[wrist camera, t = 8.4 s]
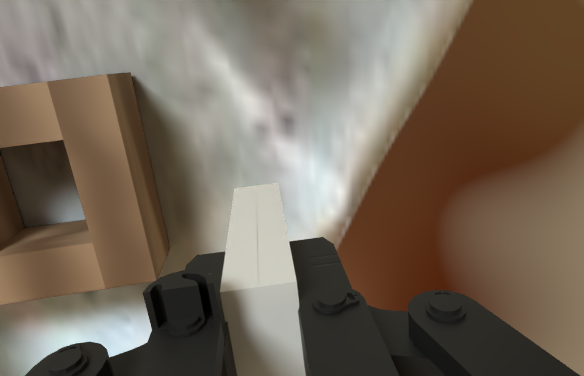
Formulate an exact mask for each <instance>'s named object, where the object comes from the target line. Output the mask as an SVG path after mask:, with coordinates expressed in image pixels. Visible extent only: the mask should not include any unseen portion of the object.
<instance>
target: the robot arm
mask: <svg viewBox="0 0 584 376" xmlns="http://www.w3.org/2000/svg"><path fill="white" fill-rule="evenodd" d="M143 295H144V299H145V303H146V307H147V311H148V315H149V319H150V323H151V327H152V332H151V334H150V337H149V340H148V342H147V343H146V344H144V345H142V346H140V347H137V348H135V349H132V350H130V351H127V352H124V353H121V354H118V355H115V356H113V357H110V358H109V355H108V352H107V349H106V348H105V347H104V346H103V345H101V344H99V343H94V342H84V343H76V344H73V345H70V346H66V347H63V348H61V349H59V350H58V351H56V352H54V353H52V354H50V355H48V356H47V357H45V358H44V359H43V360H42V361H40V362H39V363H38V364H37V365H35V366H34V367H33V368H32V369H31V370H30V371H29V372H28V373H27V374H26V375H25V376H580V375H579V374H577V373H576V372H574V371H573V370H572V369H570V368H569V367H567V366H566V365H565V364H563V363H562V362H560V361H559V360H557V359H556V358H555V357H553V356H552V355H550V354H549V353H548V352H546V351H545V350H543V349H542V348H541V347H539V346H538V345H536V344H535V343H534V342H532V341H531V340H529V339H528V338H526V337H525V336H524V335H522V334H521V333H520V332H518V331H517V330H515V329H514V328H513V327H511V326H510V325H508V324H507V323H506V322H504V321H503V320H501V319H500V318H499V317H497V316H496V315H494V314H493V313H492V312H490V311H488V310H487V309H486V308H484V307H483V306H482V305H480V304H479V303H478V302H476V301H475V300H473V299H471V298H469V297H467V296H465V295H463V294H459V293H455V292H452V291H445V290H443V291H441V290H434V291H428V292H423V293H421V294H419V295H417V296H415V297H413V299H412V300H411V301H410V303H409V304H408V312H405V311H390V310H383V309H378V308H374V307H371V306H369V305H367V303H366V301H365V299H364V297H363V296H362V295H361V294H360V293H359V292H357V291H355V290H353V289H352V287H351V285H350V282H349V280H348V278H347V275H346V273H345V270H344V268H343V266H342V264H341V261H340V259H339V257H338V255H337V251H336V249H335V247H334V244H332V243H331V242H329V241H328V240H326V239H325V238H323V237H320V238H313V239H305V240H298V241H290V242H289V238H288V233H287V228H286V223H285V217H284V212H283V207H282V202H281V196H280V191H279V186H278V183H273V184H266V185H258V186H250V187H242V188H235V189H234V196H233V203H232V210H231V217H230V224H229V231H228V238H227V245H226V252H218V253H211V254H204V255H197V256H196V257H195V258H194V259H193V260H192V261H191V262H189V263H188V264H187V265H186V268H185V271H180V272H176V273H171V274H169V275H166V276H164V277H161V278H159V279H157V280H156V281H155V282H153V283H152V284H150V285H149V286H148V287H147V288H146V290H145V291H144V292H143Z"/></svg>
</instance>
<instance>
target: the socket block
mask: <svg viewBox="0 0 584 376" xmlns="http://www.w3.org/2000/svg"><path fill="white" fill-rule="evenodd" d="M58 140H63V141H64V144H65V148H66V151H67V155H68V158H69V162H70V165H71V169H72V172H73V176H74V179H75V183H76V187H77V190H78V194H79V197H80V201H81V204H82V208H83V211H84V215H85V218H86V220H80V221H73V222H66V223H58V224H51V225H44V226H37V227H30V228H24V225H23V222H22V219H21V216H20V213H19V210H18V207H17V204H16V201H15V198H14V195H13V192H12V189H11V186H10V183H9V180H8V177H7V174H6V171H5V168H4V165H3V162H2V159H1V156H0V305H2V304H9V303H15V302H22V301H28V300H35V299H42V298H48V297H55V296H61V295H68V294H74V293H81V292H87V291H94V290H101V289H107V288H114V287H120V286H127V285H133V284H140V283H146V282H153V281H156V280H157V279H158V276H159V274H160V271H161V269H162V267H163V264H164V262H165V259H166V257H167V255H168V252H169V250H170V247H169V243H168V238H167V234H166V229H165V225H164V220H163V216H162V211H161V207H160V202H159V198H158V193H157V189H156V185H155V180H154V176H153V171H152V167H151V162H150V158H149V153H148V149H147V144H146V140H145V135H144V131H143V126H142V122H141V118H140V113H139V109H138V104H137V100H136V95H135V91H134V86H133V82H132V77H131V73H119V74H107V75H98V76H90V77H82V78H74V79H65V80H57V81H49V82H40V83H32V84H24V85H15V86H7V87H0V148H4V147H11V146H19V145H27V144H35V143H42V142H50V141H58Z"/></svg>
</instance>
